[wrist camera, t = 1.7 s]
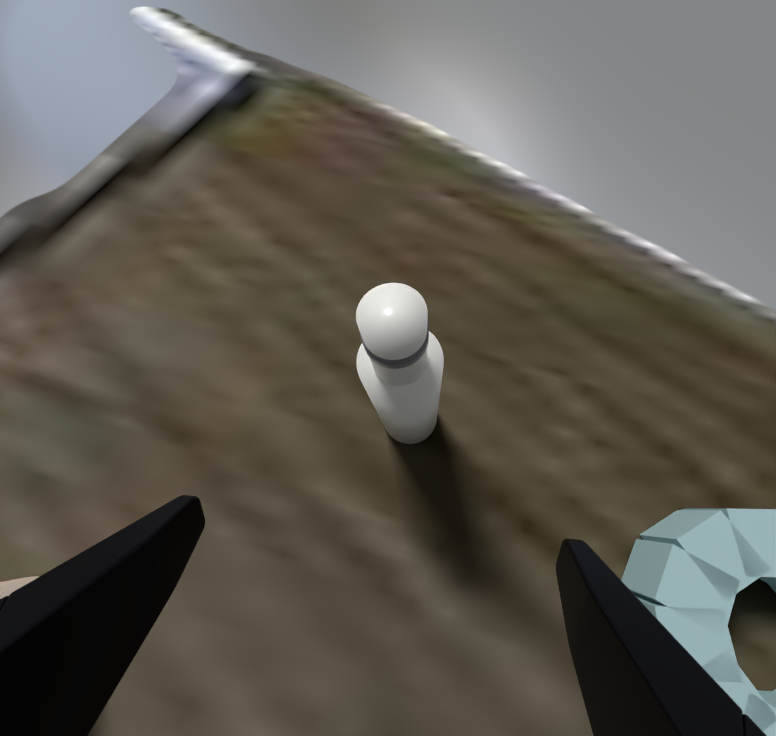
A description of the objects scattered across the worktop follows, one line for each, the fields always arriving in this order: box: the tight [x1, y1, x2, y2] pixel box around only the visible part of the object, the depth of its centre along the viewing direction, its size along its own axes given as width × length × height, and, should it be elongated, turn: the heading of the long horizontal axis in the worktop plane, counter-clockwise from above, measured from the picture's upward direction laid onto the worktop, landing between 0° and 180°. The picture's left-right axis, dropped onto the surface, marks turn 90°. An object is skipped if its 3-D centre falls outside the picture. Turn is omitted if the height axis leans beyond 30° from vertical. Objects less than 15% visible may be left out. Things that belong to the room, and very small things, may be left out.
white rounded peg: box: [356, 283, 444, 444], centre depth 16 cm, size 3×3×12 cm
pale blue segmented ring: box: [621, 509, 776, 736], centre depth 16 cm, size 10×10×3 cm
